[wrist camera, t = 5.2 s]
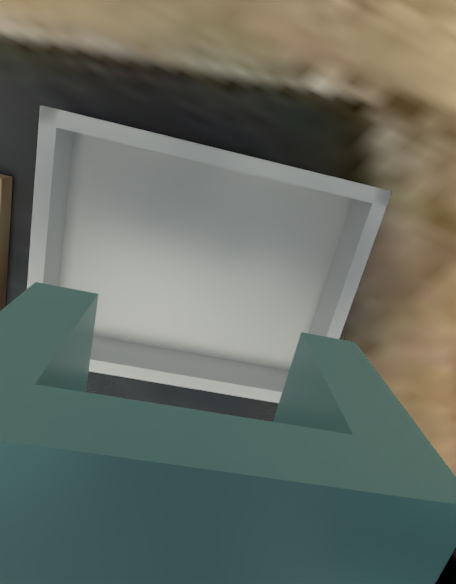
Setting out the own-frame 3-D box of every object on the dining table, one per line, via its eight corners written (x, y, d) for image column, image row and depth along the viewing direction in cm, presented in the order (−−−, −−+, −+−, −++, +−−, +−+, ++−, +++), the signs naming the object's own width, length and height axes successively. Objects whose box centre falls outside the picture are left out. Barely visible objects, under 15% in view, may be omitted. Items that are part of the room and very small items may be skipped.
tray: (301, 377, 22) (314, 409, 19) (45, 332, 20) (21, 360, 17) (366, 184, 18) (392, 191, 16) (65, 110, 17) (40, 104, 14)
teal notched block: (302, 485, 10) (365, 707, 6) (23, 446, 9) (-113, 674, 5) (354, 342, 9) (477, 507, 5) (35, 282, 8) (-135, 421, 4)
